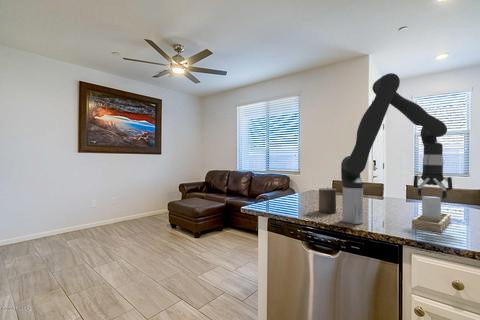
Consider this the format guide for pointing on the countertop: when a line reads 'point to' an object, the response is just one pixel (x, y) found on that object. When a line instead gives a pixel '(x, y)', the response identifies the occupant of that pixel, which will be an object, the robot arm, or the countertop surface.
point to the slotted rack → (431, 223)
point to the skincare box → (431, 207)
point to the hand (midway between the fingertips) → (431, 197)
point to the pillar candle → (327, 200)
